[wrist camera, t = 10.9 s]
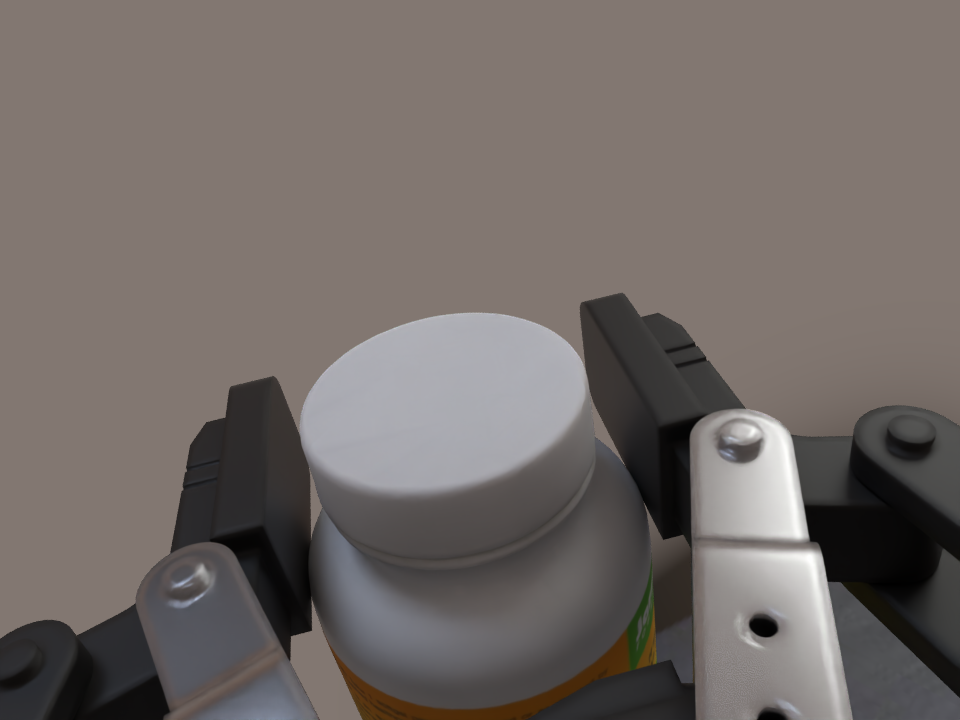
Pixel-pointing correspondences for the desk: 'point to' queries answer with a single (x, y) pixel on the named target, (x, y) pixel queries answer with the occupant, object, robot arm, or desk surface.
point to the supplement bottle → (472, 524)
